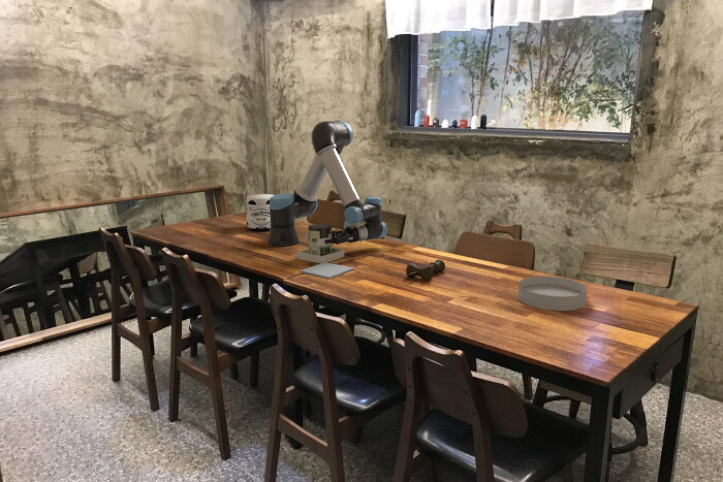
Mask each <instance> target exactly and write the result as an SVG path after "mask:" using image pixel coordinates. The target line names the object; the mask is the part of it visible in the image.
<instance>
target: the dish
mask: <svg viewBox="0 0 723 482" xmlns="http://www.w3.org/2000/svg"><path fill="white" fill-rule="evenodd" d="M587 294H588V288H587V286H585V284H583V283H581V282H578V281H576V280H573V279H569V278H565V277H558V276H544V275H543V276H541V275H540V276H530V277H525V278H523V279H521V280H520V281H519V282H518V289H517V299H518V301H519V302H521V303H523V304H525V305H526V306H529V307H532V308H537V309H541V310H545V311H556V312H557V311H558V312H560V311H561V312H563V311H564V312H567V311H575V310H580V309H582V308H584V307H586V305H587V303H588V302H587V301H588V298H587Z"/></svg>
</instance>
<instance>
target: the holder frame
mask: <svg viewBox="0 0 723 482" xmlns="http://www.w3.org/2000/svg"><path fill="white" fill-rule="evenodd" d="M344 257H345V249H342V248H336V247H332V253H331V254H328V255H325V256H318V255H313V254H309V247H308V248H306V249H302V250H299V251H296V259H298V260H302V261H308V262H310V263H311V262H313V263H316V264H322V263H325V262H327V263H331V262H332V261H335V260H339V259H341V258H344Z"/></svg>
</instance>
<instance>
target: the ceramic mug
mask: <svg viewBox="0 0 723 482" xmlns="http://www.w3.org/2000/svg"><path fill="white" fill-rule="evenodd" d="M360 224H361V222H360V223H355V224H350V223H348V222H347V221H346V220H345V221H344V223H343V231H344V230H345V228H346V227H347V226H355V225H360Z"/></svg>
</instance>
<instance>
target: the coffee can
mask: <svg viewBox="0 0 723 482" xmlns="http://www.w3.org/2000/svg"><path fill="white" fill-rule="evenodd" d="M332 226H333V225H331V224H328V223H315V224H309V225H308V226H307V228H308V233H307V234H309V241H308V248H309V254H313V255H318V256H325V255H328V254H331V253H332V248H333V244H332V243H331V244H327V245H320V246H317V239H322V238H329V237H331V239H332V231H333V230H332V229H333V227H332Z"/></svg>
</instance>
